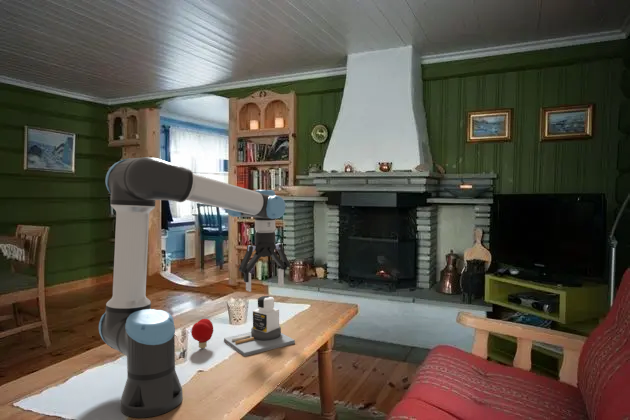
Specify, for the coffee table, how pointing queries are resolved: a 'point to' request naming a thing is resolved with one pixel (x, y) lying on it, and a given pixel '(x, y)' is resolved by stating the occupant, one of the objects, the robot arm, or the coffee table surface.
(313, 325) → the coffee table surface
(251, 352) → the board
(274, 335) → the stub
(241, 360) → the coffee table surface
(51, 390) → the coffee table surface
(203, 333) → the red toy tree
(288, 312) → the coffee table surface
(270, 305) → the medicine bottle
